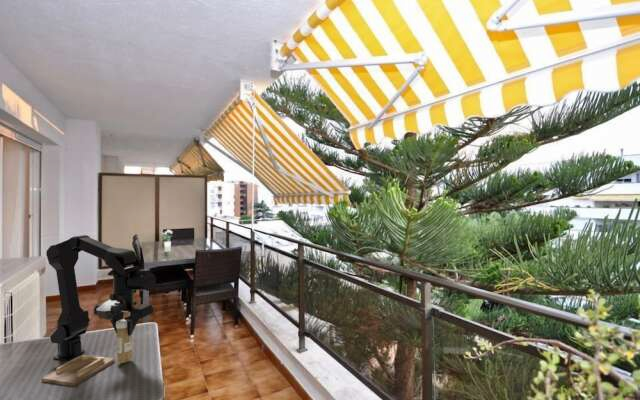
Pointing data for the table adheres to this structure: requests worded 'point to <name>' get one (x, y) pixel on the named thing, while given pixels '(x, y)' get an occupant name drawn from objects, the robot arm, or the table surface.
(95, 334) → the table surface
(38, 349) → the table surface
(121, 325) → the sprinkles bottle
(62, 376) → the bottle cradle
